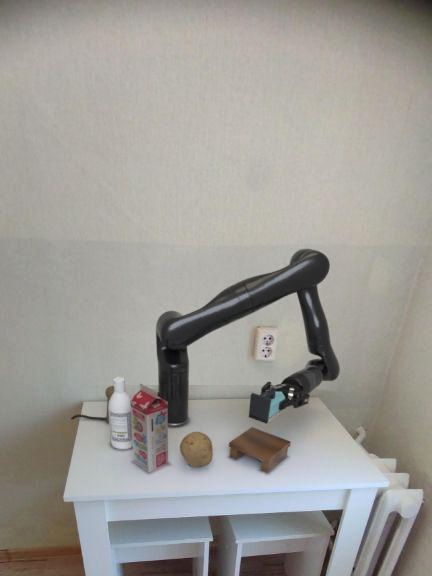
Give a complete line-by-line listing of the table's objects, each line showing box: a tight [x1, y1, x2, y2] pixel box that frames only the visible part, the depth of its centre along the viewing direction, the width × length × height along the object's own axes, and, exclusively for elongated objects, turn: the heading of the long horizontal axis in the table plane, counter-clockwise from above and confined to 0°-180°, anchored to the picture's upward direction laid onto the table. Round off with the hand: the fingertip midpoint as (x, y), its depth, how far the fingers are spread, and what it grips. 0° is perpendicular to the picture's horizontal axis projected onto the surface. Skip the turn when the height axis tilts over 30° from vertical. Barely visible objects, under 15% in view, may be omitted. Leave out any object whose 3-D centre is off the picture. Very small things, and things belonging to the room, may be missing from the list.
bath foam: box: [108, 376, 133, 450], centre depth 128 cm, size 7×7×20 cm
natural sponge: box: [179, 431, 214, 468], centre depth 124 cm, size 9×9×10 cm
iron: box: [248, 388, 285, 425], centre depth 125 cm, size 12×6×7 cm, turn 144°
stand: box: [228, 426, 291, 474], centre depth 131 cm, size 12×13×5 cm
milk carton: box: [130, 383, 169, 473], centre depth 120 cm, size 7×7×22 cm
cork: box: [104, 385, 114, 425], centre depth 143 cm, size 6×6×11 cm
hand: (270, 403), depth 125 cm, fingers closed on iron, 5 cm apart
